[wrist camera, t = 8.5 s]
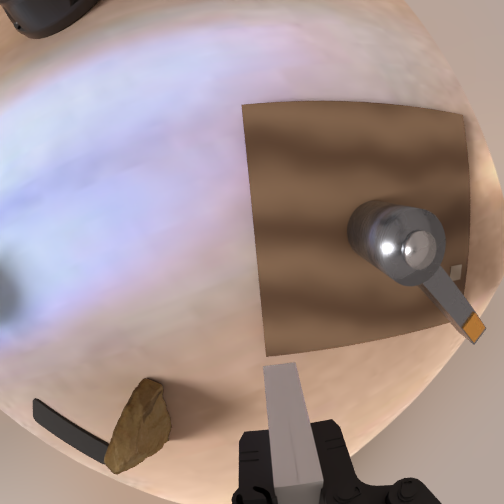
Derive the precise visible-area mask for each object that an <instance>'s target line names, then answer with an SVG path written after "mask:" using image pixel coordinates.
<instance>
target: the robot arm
mask: <svg viewBox="0 0 504 504" xmlns="http://www.w3.org/2000/svg"><path fill="white" fill-rule="evenodd" d="M98 1H99V0H0V5H1V6H2V7H3V9H4V11H5V12H6V14H7V16H8V17H9V19H10V20H11V22H12V23H13V25H14V27H15V28H16V30H17V31H18V32H20V33H21V34H23V35H25V36H27V37H29V38H32V39H40V38H44V37H48V36H50V35H53V34H55V33H57V32H59V31H61V30H62V29H64V28H66V27H67V26H69V25H70V24H72V23H73V22H75V21H76V20H77V19H79V18H80V17H81V16H82V15H84V14H85V13H86V12H87V11H88V10H89V9H91V8H92V7H93V6H94V5H95V4H96V3H97V2H98ZM263 370H264V381H265V392H266V403H267V414H268V426H269V430H259V431H248V432H244V433H243V435H242V437H241V439H240V441H239V488H238V489H237V490H236V491H235V493H234V494H233V497H232V500H231V501H232V504H441V503H440V501H439V500H438V499H437V498H436V497H435V496H434V495H433V494H432V493H431V492H430V490H429V489H428V488H427V487H426V486H425V485H424V484H423V483H422V482H421V481H420V480H418V479H415V478H404V479H401V480H399V481H397V482H396V483H395V484H394V485H385V486H372V485H368V484H365V483H363V482H361V481H360V480H359V479H358V478H357V476H356V474H355V471H354V468H353V465H352V462H351V459H350V456H349V453H348V450H347V447H346V444H345V441H344V439H343V435H342V432H341V429H340V427H339V426H338V425H337V424H336V423H335V422H334V421H333V420H332V419H330V420H325V421H320V422H314V423H310V420H309V416H308V412H307V408H306V404H305V400H304V396H303V392H302V388H301V383H300V379H299V375H298V371H297V367H296V363H295V362H293V363H286V364H278V365H270V366H263Z"/></svg>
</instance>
